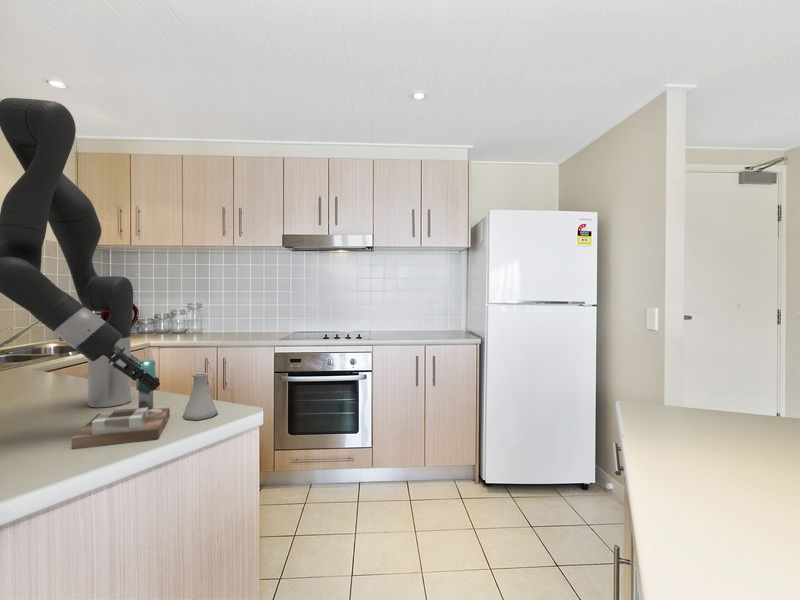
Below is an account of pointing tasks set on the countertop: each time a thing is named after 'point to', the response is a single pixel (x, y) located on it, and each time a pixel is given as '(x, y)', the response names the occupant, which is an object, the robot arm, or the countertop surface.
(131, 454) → the countertop surface
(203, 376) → the flask
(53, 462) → the countertop surface
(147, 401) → the peg
